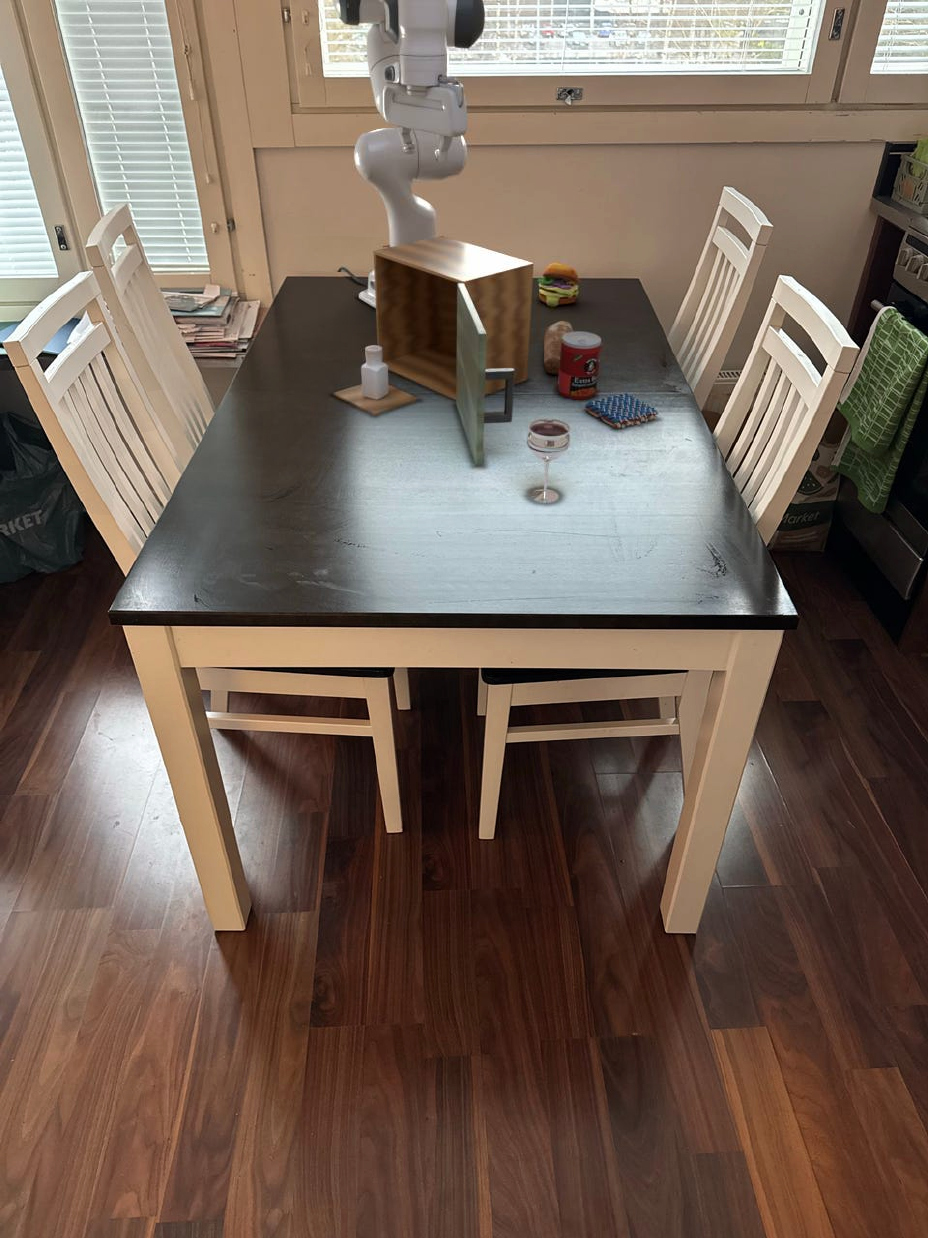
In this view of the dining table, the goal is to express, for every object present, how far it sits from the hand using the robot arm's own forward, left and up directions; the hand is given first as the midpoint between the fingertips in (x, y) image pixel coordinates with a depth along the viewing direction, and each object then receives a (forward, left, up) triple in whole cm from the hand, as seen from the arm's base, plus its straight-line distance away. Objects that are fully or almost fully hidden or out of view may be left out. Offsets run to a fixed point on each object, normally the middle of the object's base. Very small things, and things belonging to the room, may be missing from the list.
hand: (425, 156), depth 175 cm
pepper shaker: (+10, -22, -39) cm, 46 cm away
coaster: (+10, -22, -39) cm, 46 cm away
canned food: (+34, +10, -39) cm, 53 cm away
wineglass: (+59, -26, -39) cm, 75 cm away
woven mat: (+47, +8, -39) cm, 62 cm away
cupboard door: (+35, -17, -39) cm, 55 cm away
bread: (+20, +20, -39) cm, 48 cm away
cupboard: (+10, -2, -39) cm, 40 cm away
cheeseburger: (-8, +50, -39) cm, 64 cm away
